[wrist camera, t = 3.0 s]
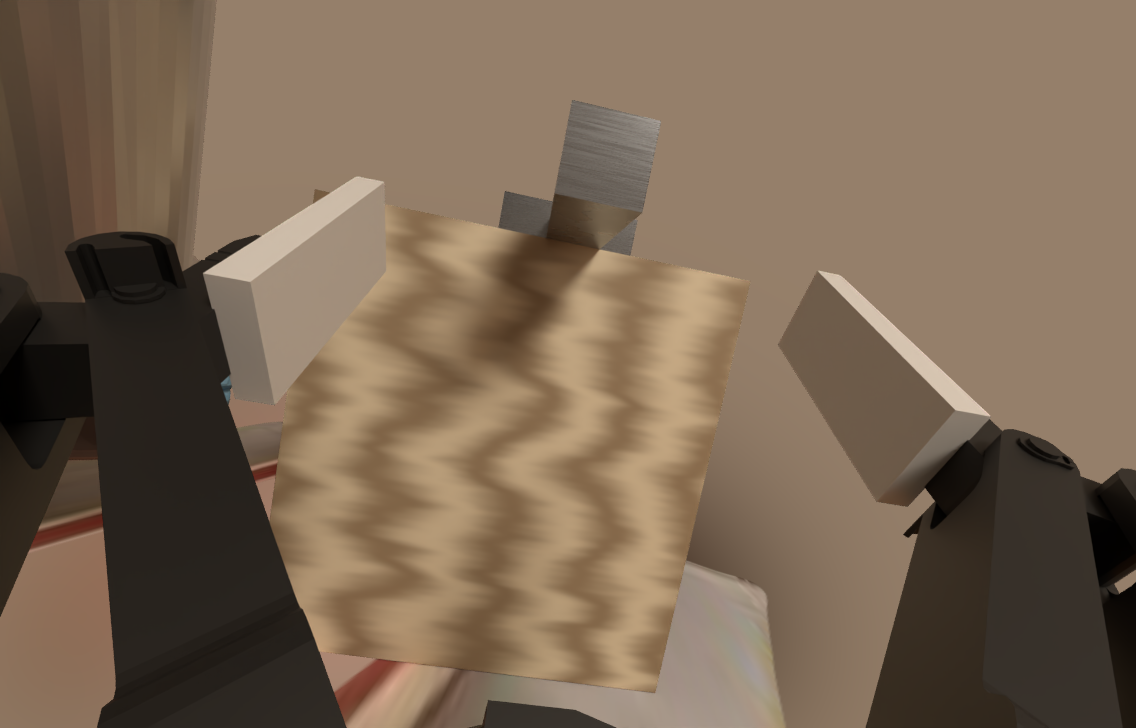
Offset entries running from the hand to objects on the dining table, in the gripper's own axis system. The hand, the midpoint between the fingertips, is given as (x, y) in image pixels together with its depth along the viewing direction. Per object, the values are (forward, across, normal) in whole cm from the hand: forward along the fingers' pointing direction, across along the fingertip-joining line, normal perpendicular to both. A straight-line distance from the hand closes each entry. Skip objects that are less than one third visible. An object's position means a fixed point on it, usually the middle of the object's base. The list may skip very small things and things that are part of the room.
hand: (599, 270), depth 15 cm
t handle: (+18, 0, -6) cm, 19 cm away
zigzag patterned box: (+9, -2, -36) cm, 37 cm away
